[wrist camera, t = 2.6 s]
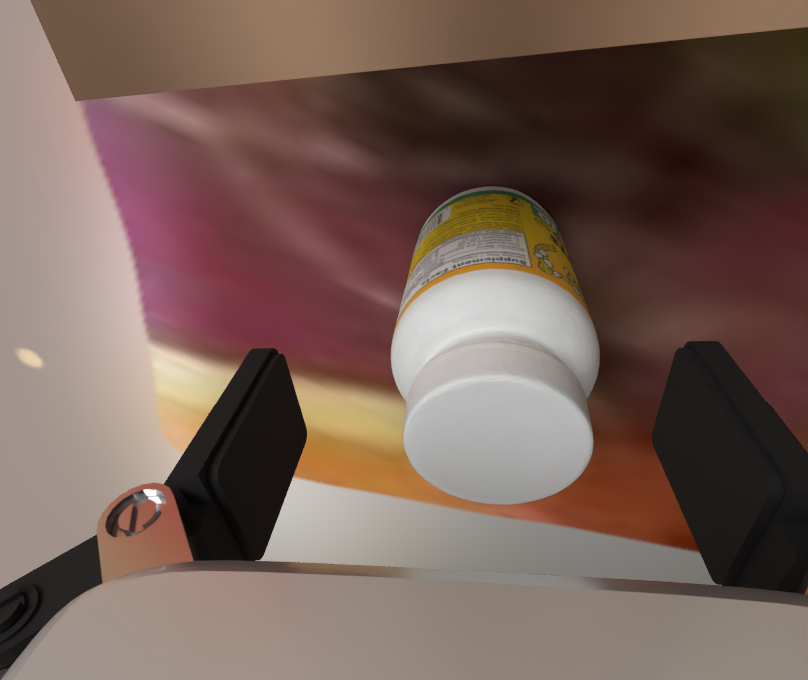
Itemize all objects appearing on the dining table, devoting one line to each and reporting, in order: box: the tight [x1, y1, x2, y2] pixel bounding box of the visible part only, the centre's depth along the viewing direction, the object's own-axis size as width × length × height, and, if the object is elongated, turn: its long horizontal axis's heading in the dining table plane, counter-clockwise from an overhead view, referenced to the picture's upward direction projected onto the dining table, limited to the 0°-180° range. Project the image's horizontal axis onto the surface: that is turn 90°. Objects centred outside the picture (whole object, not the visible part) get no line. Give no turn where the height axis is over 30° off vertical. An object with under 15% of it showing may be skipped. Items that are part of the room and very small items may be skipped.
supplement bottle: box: [391, 186, 600, 505], centre depth 14 cm, size 5×5×10 cm
